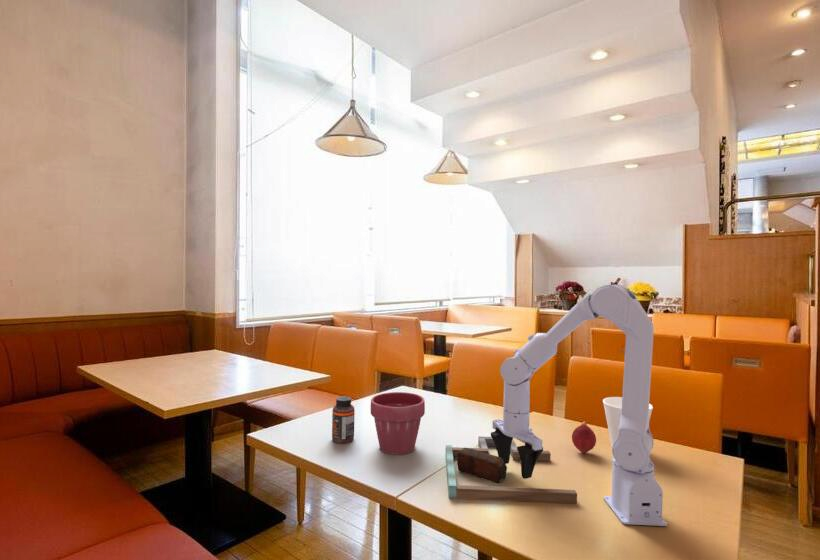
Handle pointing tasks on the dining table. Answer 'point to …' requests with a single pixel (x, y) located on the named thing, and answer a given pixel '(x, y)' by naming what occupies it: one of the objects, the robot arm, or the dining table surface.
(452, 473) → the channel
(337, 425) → the supplement bottle
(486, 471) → the brick
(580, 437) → the onion
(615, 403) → the cup
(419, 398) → the plant pot
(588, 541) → the dining table surface
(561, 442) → the dining table surface
